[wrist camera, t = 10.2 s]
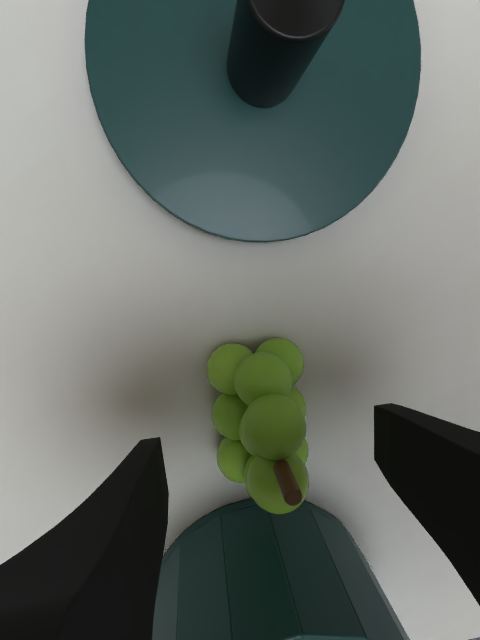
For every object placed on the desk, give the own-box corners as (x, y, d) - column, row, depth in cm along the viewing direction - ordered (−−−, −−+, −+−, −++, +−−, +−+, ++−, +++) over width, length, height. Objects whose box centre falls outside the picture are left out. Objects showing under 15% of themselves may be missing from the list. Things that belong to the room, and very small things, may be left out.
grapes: (301, 453, 16) (364, 575, 10) (218, 466, 16) (232, 601, 10) (294, 329, 15) (361, 385, 9) (203, 340, 14) (209, 407, 8)
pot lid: (460, 53, 13) (617, -60, 8) (288, 297, 14) (337, 324, 9) (215, -202, 11) (232, -573, 6) (30, 115, 12) (-86, 23, 7)
